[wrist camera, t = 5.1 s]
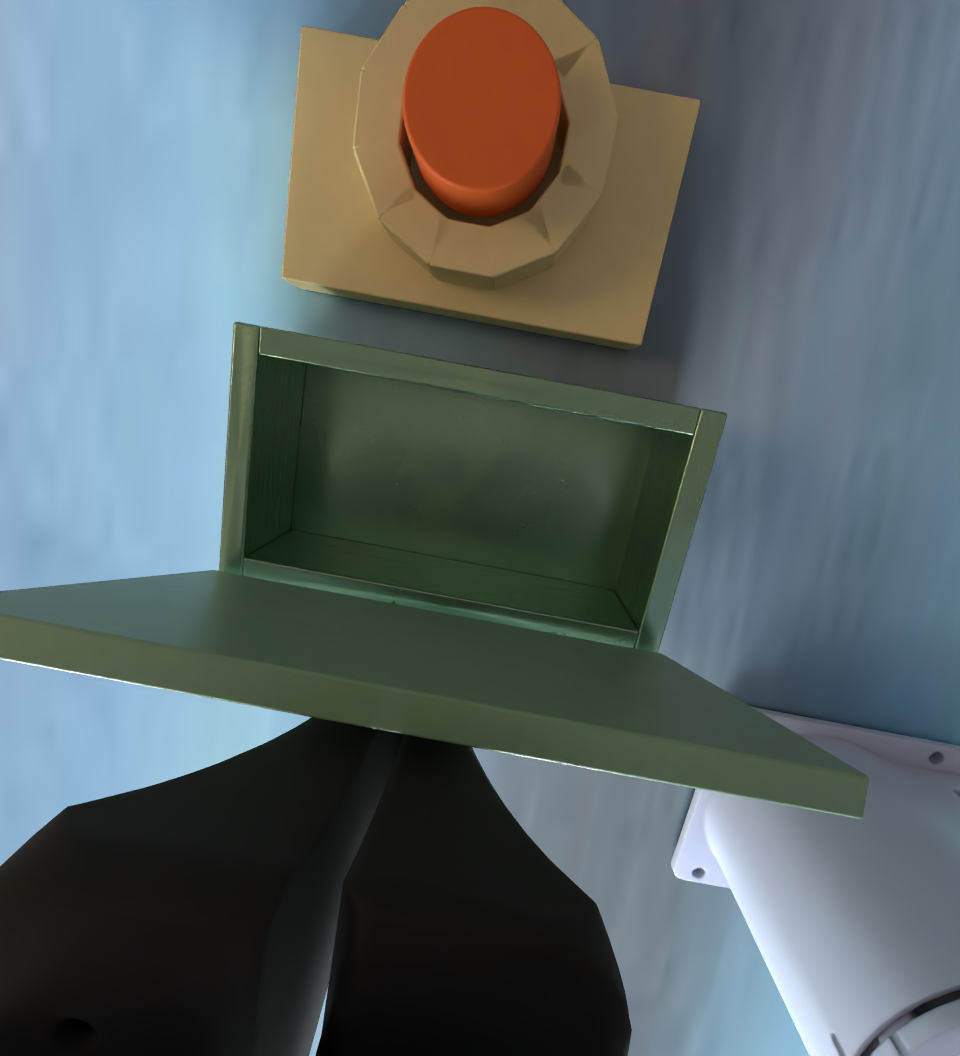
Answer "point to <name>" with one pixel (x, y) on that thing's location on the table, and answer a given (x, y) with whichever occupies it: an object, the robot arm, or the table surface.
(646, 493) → the box
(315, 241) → the switch block
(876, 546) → the table surface
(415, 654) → the lid
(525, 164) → the switch
